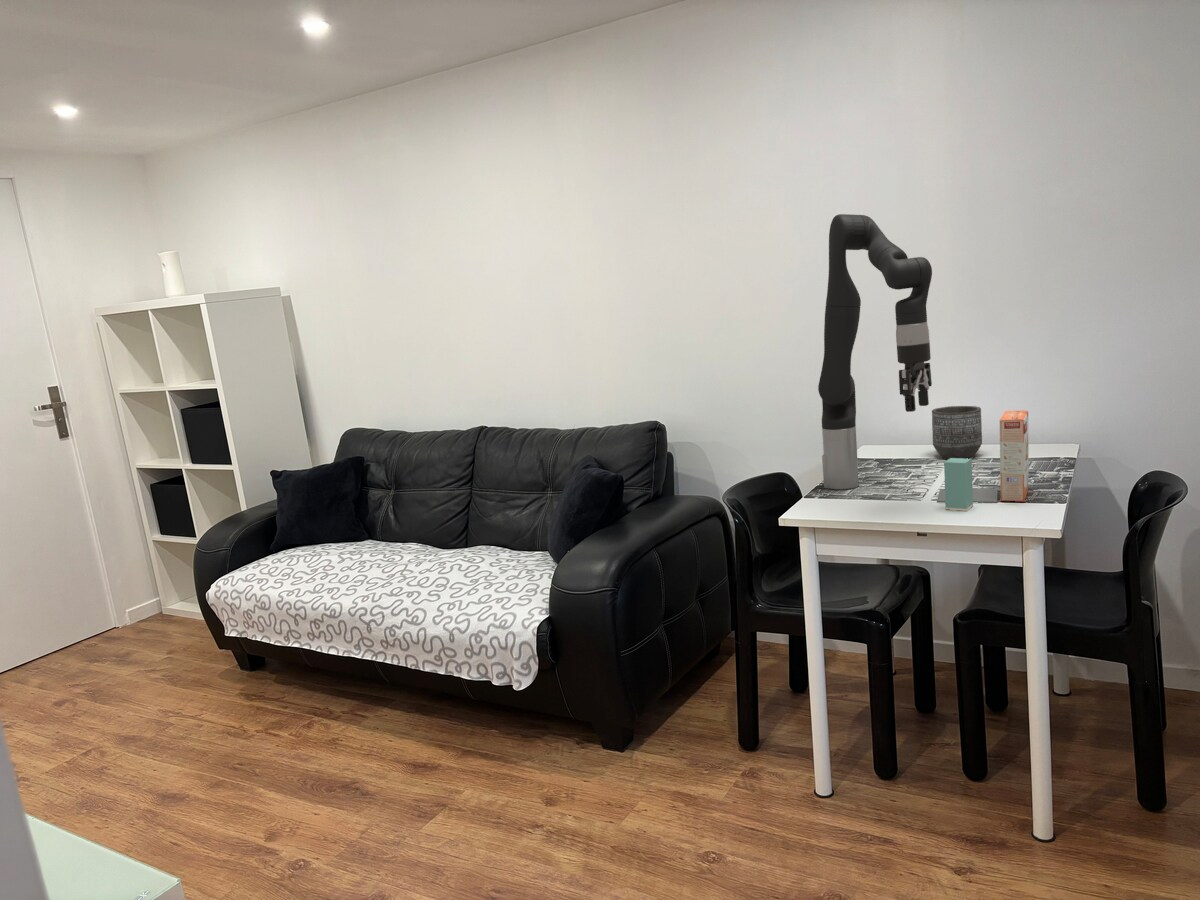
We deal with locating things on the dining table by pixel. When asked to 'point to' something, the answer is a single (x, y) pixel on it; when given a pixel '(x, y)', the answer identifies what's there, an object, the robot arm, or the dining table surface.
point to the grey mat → (976, 495)
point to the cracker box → (1014, 456)
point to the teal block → (958, 484)
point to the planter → (957, 431)
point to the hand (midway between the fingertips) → (917, 408)
